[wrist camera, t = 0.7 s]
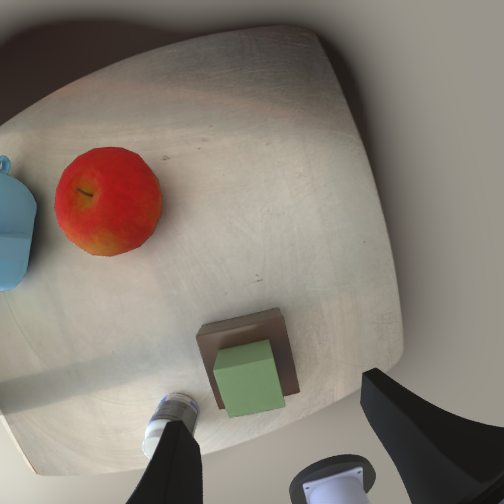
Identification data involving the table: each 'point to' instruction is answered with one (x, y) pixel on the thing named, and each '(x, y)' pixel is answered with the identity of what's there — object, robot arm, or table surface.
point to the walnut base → (245, 333)
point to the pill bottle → (170, 419)
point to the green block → (248, 379)
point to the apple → (108, 201)
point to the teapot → (14, 227)
